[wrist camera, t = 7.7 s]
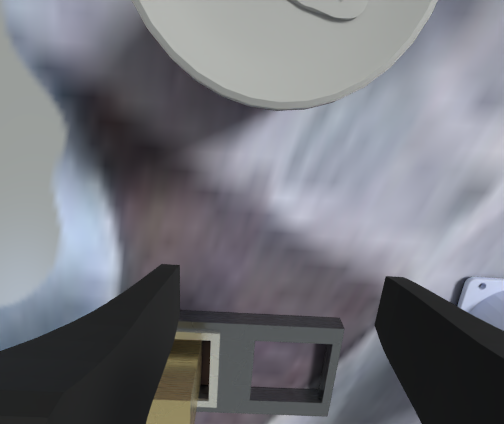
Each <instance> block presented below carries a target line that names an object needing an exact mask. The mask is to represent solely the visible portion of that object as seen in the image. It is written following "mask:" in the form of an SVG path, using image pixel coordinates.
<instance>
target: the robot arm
mask: <svg viewBox="0 0 504 424" xmlns="http://www.w3.org/2000/svg"><path fill="white" fill-rule="evenodd" d="M481 283H482V285H481V286H479V285H480V284H481ZM179 316H180V265H167V264H161V265H160V266H158V267H157V268H156V269H154V270H153V271H152V272H150V273H149V274H148V275H147V276H145V277H144V278H143V279H141V280H140V281H138V282H137V283H136V284H134V285H133V286H132V287H130V288H129V289H128V290H126V291H125V292H123V293H121V294H120V295H118V296H117V297H115V298H114V299H112V300H111V301H109V302H108V303H106V304H105V305H103V306H101V307H100V308H98V309H96V310H94V311H93V312H91V313H89V314H87V315H85V316H83V317H81V318H79V319H78V320H76V321H74V322H72V323H69V324H67V325H65V326H63V327H60V328H58V329H56V330H54V331H51V332H49V333H47V334H44V335H42V336H40V337H38V338H35V339H32V340H30V341H27V342H24V343H22V344H19V345H16V346H13V347H11V348H8V349H5V350H2V351H0V424H146V421H147V417H148V414H149V411H150V408H151V405H152V402H153V399H154V396H155V393H156V391H157V388H158V385H159V382H160V379H161V377H162V374H163V371H164V368H165V366H166V363H167V360H168V357H169V354H170V352H171V349H172V346H173V343H174V339H175V335H176V330H177V326H178V321H179ZM375 327H376V330H377V333H378V336H379V339H380V342H381V345H382V347H383V350H384V352H385V354H386V356H387V358H388V360H389V362H390V364H391V366H392V368H393V370H394V372H395V373H396V375H397V377H398V379H399V381H400V383H401V385H402V387H403V388H404V390H405V392H406V394H407V396H408V398H409V400H410V402H411V404H412V405H413V407H414V409H415V411H416V413H417V415H418V417H419V419H420V421H421V423H422V424H504V278H487V277H470V278H468V279H467V280H466V281H465V283H464V287H463V290H462V293H461V296H460V299H459V302H458V305H457V306H455V305H454V304H452V303H450V302H448V301H447V300H445V299H443V298H441V297H440V296H438V295H436V294H434V293H433V292H431V291H429V290H427V289H425V288H424V287H422V286H420V285H418V284H416V283H414V282H412V281H410V280H408V279H406V278H404V277H389V276H386V278H385V282H384V286H383V291H382V295H381V300H380V304H379V308H378V313H377V317H376V321H375Z"/></svg>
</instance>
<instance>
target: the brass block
mask: <svg viewBox="0 0 504 424" xmlns="http://www.w3.org/2000/svg"><path fill="white" fill-rule="evenodd" d="M201 368H202V340H183V339H174V343H173V346H172V349H171V352H170V354H169V357H168V360H167V363H166V366H165V368H164V371H163V374H162V377H161V379H160V382H159V385H158V388H157V391H156V393H155V396H154V399H153V402H152V405H151V408H150V411H149V414H148V417H147V421H146V424H194V421H195V415H196V409H197V402H198V396H199V390H200V383H201Z"/></svg>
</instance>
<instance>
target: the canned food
mask: <svg viewBox="0 0 504 424" xmlns="http://www.w3.org/2000/svg"><path fill="white" fill-rule="evenodd" d="M437 1H438V0H132V2H133V4H134V6H135V7H136V9H137V11H138V13H139V15H140V16H141V18H142V20H143V22H144V24H145V25H146V27H147V29H148V30H149V31H150V32H151V34H152V35H153V37H154V38H155V39H156V40H157V42H158V43H159V44H160V45H161V47H162V48H163V49H164V50H165V52H166V53H167V54H168V55H169V57H170V58H171V59H172V60H173V61H174V62H175V63H176V64H177V65H178V66H180V67H181V68H182V69H183V70H184V71H185V72H186V73H188V74H189V75H190V76H191V77H192V78H193V79H194V80H195V81H197V82H199V83H200V84H202V85H204V86H205V87H207V88H209V89H210V90H212V91H214V92H215V93H217V94H219V95H220V96H222V97H225V98H227V99H230V100H233V101H235V102H238V103H241V104H244V105H246V106H249V107H256V108H262V109H269V110H275V111H284V110H304V109H309V108H313V107H316V106H320V105H324V104H328V103H332V102H334V101H336V100H339V99H341V98H343V97H345V96H347V95H349V94H351V93H353V92H355V91H357V90H359V89H362V88H364V87H365V86H367V85H368V84H369V83H371V82H372V81H373V80H375V79H376V78H377V77H379V76H380V75H381V74H383V73H384V72H385V71H387V70H388V69H389V68H390V67H391V66H392V65H393V64H394V63H395V62H396V61H397V60H398V59H399V58H400V57H401V56H402V54H403V53H404V52H405V51H406V50H407V49H408V48H409V47H410V46H411V45H412V44H413V42H414V41H415V39H416V38H417V36H418V34H419V33H420V31H421V30H422V28H423V27H424V25H425V24H426V22H427V21H428V19H429V17H430V16H431V14H432V12H433V10H434V8H435V5H436V3H437Z"/></svg>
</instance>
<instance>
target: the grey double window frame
mask: <svg viewBox="0 0 504 424" xmlns="http://www.w3.org/2000/svg"><path fill="white" fill-rule="evenodd" d="M343 334H344V327H343V324H342V322H341V320H340V318H330V317H309V316H289V315H268V314H248V313H227V312H207V311H186V310H180V316H179V321H178V326H177V330H176V335H175V339H183V340H206V341H211V350H210V377H209V385H200V390H199V396H198V402H197V409H196V412H220V413H247V414H274V415H301V416H328V411H329V406H330V401H331V396H332V391H333V386H334V380H335V375H336V370H337V365H338V360H339V355H340V350H341V344H342V339H343ZM255 341H273V342H294V343H316V344H327V346H326V351H325V357H324V363H323V368H322V374H321V380H320V385H319V390H311V389H286V388H261V387H251V380H252V369H253V358H254V347H255Z"/></svg>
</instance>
